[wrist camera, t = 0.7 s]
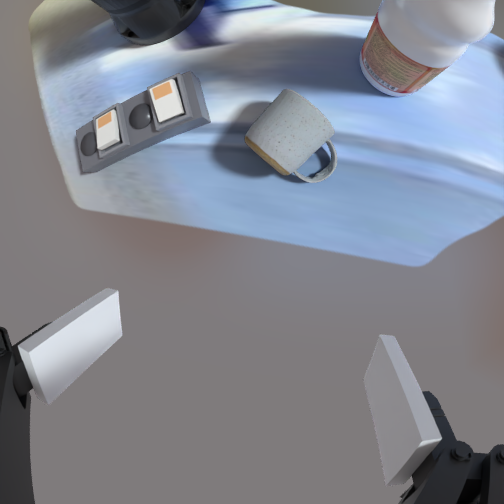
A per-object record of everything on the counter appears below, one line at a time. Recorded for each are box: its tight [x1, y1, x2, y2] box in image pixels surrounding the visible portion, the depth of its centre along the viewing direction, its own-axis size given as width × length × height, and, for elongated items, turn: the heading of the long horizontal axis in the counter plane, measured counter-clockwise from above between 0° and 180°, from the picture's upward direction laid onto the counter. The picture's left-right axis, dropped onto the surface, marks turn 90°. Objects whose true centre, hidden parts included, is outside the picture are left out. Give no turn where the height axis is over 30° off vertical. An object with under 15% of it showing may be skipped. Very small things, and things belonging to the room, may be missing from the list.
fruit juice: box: [360, 0, 495, 97], centre depth 16 cm, size 9×9×28 cm
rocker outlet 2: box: [149, 79, 185, 123], centre depth 31 cm, size 5×3×1 cm
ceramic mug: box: [245, 89, 337, 183], centre depth 31 cm, size 11×8×8 cm
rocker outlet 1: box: [96, 109, 120, 150], centre depth 33 cm, size 5×3×1 cm
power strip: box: [76, 71, 211, 172], centre depth 34 cm, size 7×20×5 cm, turn 105°
